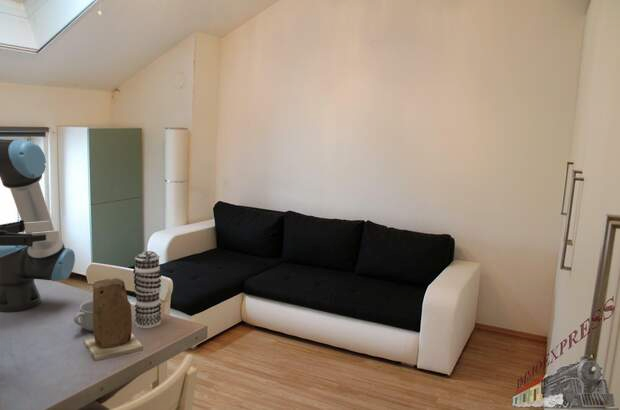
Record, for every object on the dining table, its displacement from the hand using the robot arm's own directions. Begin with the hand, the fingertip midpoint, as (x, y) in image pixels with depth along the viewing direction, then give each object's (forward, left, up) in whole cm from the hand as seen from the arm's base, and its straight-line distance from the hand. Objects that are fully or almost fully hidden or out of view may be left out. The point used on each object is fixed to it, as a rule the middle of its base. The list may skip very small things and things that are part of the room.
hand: (54, 230), depth 148 cm
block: (+2, +15, -37) cm, 40 cm away
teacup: (-14, +13, -38) cm, 43 cm away
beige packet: (+2, +15, -38) cm, 41 cm away
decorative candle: (-10, +30, -38) cm, 49 cm away
